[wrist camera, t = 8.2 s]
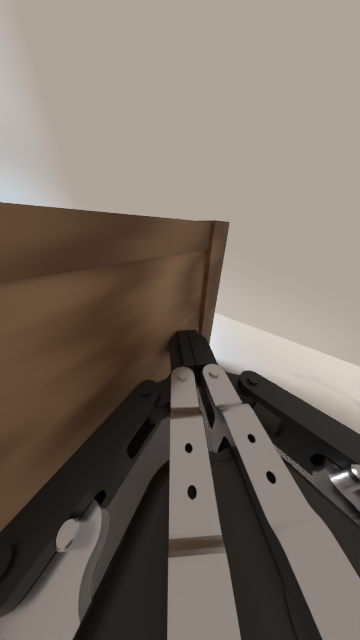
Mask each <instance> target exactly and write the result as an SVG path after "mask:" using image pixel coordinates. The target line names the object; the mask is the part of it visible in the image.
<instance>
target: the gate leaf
mask: <svg viewBox="0 0 360 640" xmlns="http://www.w3.org/2000/svg"><path fill="white" fill-rule="evenodd" d="M228 229H229V222H223V221H192V220H181V219H171V218H160V217H150V216H139V215H128V214H118V213H107V212H95V211H85V210H75V209H64V208H54V207H43V206H33V205H22V204H11V203H1V202H0V532H1V531H2V530H3V529H4V528H5V527H6V525H7V524H8V523H9V522H10V521H11V520H12V519H13V518H14V517H15V516H16V515H17V514H18V513H19V512H20V510H21V509H22V508H23V507H24V506H25V505H26V504H27V503H28V502H29V501H30V500H31V499H32V498H33V497H34V495H35V494H36V493H37V492H38V491H39V490H40V489H41V488H42V487H43V486H44V485H45V484H46V483H47V482H48V480H49V479H50V478H51V477H52V476H53V475H54V474H55V473H56V472H57V471H58V470H59V469H60V468H61V467H62V465H63V464H64V463H65V462H66V461H67V460H68V459H69V458H70V457H71V456H72V455H73V454H74V453H75V452H76V450H77V449H78V448H79V447H80V446H81V445H82V444H83V443H84V442H85V441H86V440H87V439H88V438H89V437H90V436H91V434H92V433H93V432H94V431H95V430H96V429H97V428H98V427H99V426H100V425H101V424H102V423H103V422H104V421H105V419H106V418H107V417H108V416H109V415H110V414H111V413H112V412H113V411H114V410H115V409H116V408H117V407H118V406H119V404H120V403H121V402H122V401H123V400H124V399H125V398H126V397H127V396H128V395H129V394H130V393H131V392H132V391H133V389H134V388H135V387H136V386H137V385H138V384H139V383H141V382H143V381H145V380H153V381H155V382H159V381H162V380H164V379H165V378H167V377H168V376H169V374H170V372H171V368H170V355H169V341H170V339H171V337H177V331H179V330H195V329H196V331H197V334H198V335H203V336H204V337H205V338H206V339H207V341H208V343H209V342H210V336H211V330H212V324H213V318H214V312H215V306H216V301H217V294H218V289H219V283H220V277H221V270H222V264H223V258H224V253H225V247H226V241H227V235H228Z"/></svg>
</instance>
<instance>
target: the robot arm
mask: <svg viewBox="0 0 360 640" xmlns="http://www.w3.org/2000/svg"><path fill="white" fill-rule="evenodd" d="M169 355H170V368H171V372H170V374H169V376H168V377H167V378H165V379H164V380H162V381H159V382H155V381H153V380H145V381H143V382H141V383H139V384H138V385H137V386H136V387H135V388H134V389H133V391H132V392H131V393H130V394H129V395H128V396H127V397H126V398H125V399H124V400H123V401H122V402H121V403H120V404H119V406H118V407H117V408H116V409H115V410H114V411H113V412H112V413H111V414H110V415H109V416H108V417H107V418H106V419H105V421H104V422H103V423H102V424H101V425H100V426H99V427H98V428H97V429H96V430H95V431H94V432H93V433H92V434H91V436H90V437H89V438H88V439H87V440H86V441H85V442H84V443H83V444H82V445H81V446H80V447H79V448H78V449H77V450H76V452H75V453H74V454H73V455H72V456H71V457H70V458H69V459H68V460H67V461H66V462H65V463H64V464H63V465H62V467H61V468H60V469H59V470H58V471H57V472H56V473H55V474H54V475H53V476H52V477H51V478H50V479H49V480H48V482H47V483H46V484H45V485H44V486H43V487H42V488H41V489H40V490H39V491H38V492H37V493H36V494H35V495H34V497H33V498H32V499H31V500H30V501H29V502H28V503H27V504H26V505H25V506H24V507H23V508H22V509H21V510H20V512H19V513H18V514H17V515H16V516H15V517H14V518H13V519H12V520H11V521H10V522H9V523H8V524H7V525H6V527H5V528H4V529H3V530H2V531H1V532H0V638H1V640H360V434H358V433H357V432H355V431H353V430H352V429H350V428H348V427H347V426H345V425H343V424H341V423H340V422H338V421H336V420H335V419H333V418H331V417H330V416H328V415H326V414H325V413H323V412H321V411H320V410H318V409H316V408H314V407H313V406H311V405H309V404H308V403H306V402H304V401H303V400H301V399H299V398H298V397H296V396H294V395H293V394H291V393H289V392H288V391H286V390H284V389H282V388H281V387H279V386H277V385H276V384H274V383H272V382H271V381H269V380H267V379H266V378H264V377H262V376H261V375H259V374H257V373H255V372H253V371H244V372H242V373H241V375H236V374H231V373H228V372H225V371H224V370H223V368H221V367H220V366H218V364H217V362H216V359H215V357H214V355H213V353H212V350H211V348H210V346H209V343H208V341H207V339H206V338H205V337H204V336H203V335H198V334H197V331H196V329H195V330H179V331H177V337H171V339H170V341H169ZM197 387H198V389H199V400H200V403H201V406H202V410H203V413H204V416H205V419H206V423H207V426H208V429H209V434H210V442H211V447H212V450H213V452H211V451H208V448H207V441H206V435H205V429H204V423H203V417H202V413H201V411H200V409H199V404H198V398H197V391H196V388H197ZM169 416H170V460H168V461H167V462H166V463H164V464H163V465H162V466H161V467H160V468H159V469H158V471H157V472H156V473H155V475H154V476H153V478H152V479H151V481H150V483H149V485H148V487H147V489H146V491H145V493H144V495H143V497H142V499H141V501H140V503H139V505H138V507H137V509H136V511H135V513H134V515H133V517H132V519H131V521H130V523H129V525H128V527H127V529H126V531H125V533H124V536H123V538H122V540H121V542H120V544H119V546H118V548H117V550H116V552H115V554H114V556H113V558H112V560H111V562H110V564H109V566H108V568H107V570H106V572H105V574H104V576H103V578H102V580H101V582H100V584H99V586H98V588H97V590H96V593H95V595H94V597H93V599H92V601H91V588H92V580H93V575H94V571H95V567H96V564H97V561H98V559H99V557H100V554H101V552H102V550H103V548H104V546H105V543H106V540H107V536H108V532H109V514H108V511H107V509H106V508H107V506H108V505H109V503H110V501H111V500H112V498H113V497H114V495H115V494H116V492H117V490H118V489H119V487H120V486H121V484H122V482H123V481H124V479H125V478H126V476H127V475H128V473H129V471H130V470H131V468H132V467H133V465H134V463H135V462H136V460H137V459H138V457H139V456H140V454H141V452H142V451H143V449H144V448H145V446H146V444H147V443H148V441H149V440H150V438H151V437H152V435H153V433H154V432H155V430H156V429H157V427H158V425H159V424H160V422H161V420H163V419H165V418H167V417H169ZM273 444H274V445H276V446H277V447H278V448H279V449H280V450H282V451H283V452H284V453H285V454H287V455H288V456H289V457H290V458H291V459H293V460H294V461H295V462H296V463H297V464H299V465H300V466H301V467H302V468H304V469H305V470H306V471H307V472H308V473H310V474H311V475H312V476H313V478H314V480H315V481H314V485H315V486H314V485H313V484H312V483H311V482H310V481H309V480H307V479H306V478H305V477H304V476H303V475H302V474H301V473H300V472H298V471H297V470H296V469H295V468H294V467H293V466H292V465H291V464H289V463H288V462H287V461H286V460H285V459H284V458H282V457H281V456H280V455H279V453H278V452H277V450H276V448H275V447H274V445H273Z"/></svg>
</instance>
